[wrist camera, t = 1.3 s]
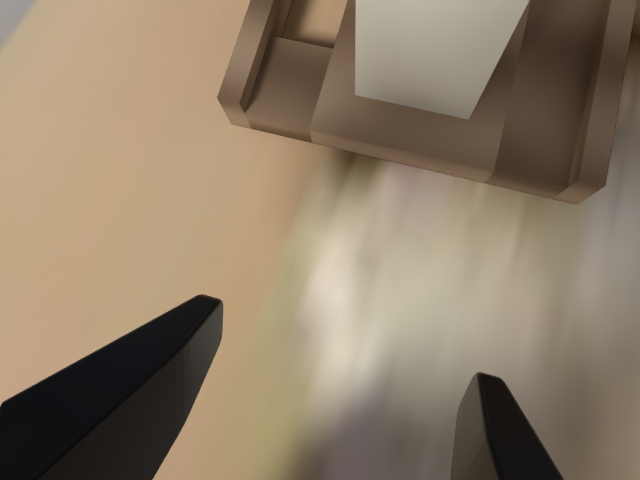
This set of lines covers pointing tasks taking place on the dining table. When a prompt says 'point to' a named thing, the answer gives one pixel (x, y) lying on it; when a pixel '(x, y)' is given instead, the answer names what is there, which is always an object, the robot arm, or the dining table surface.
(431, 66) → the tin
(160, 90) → the dining table surface
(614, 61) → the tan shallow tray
